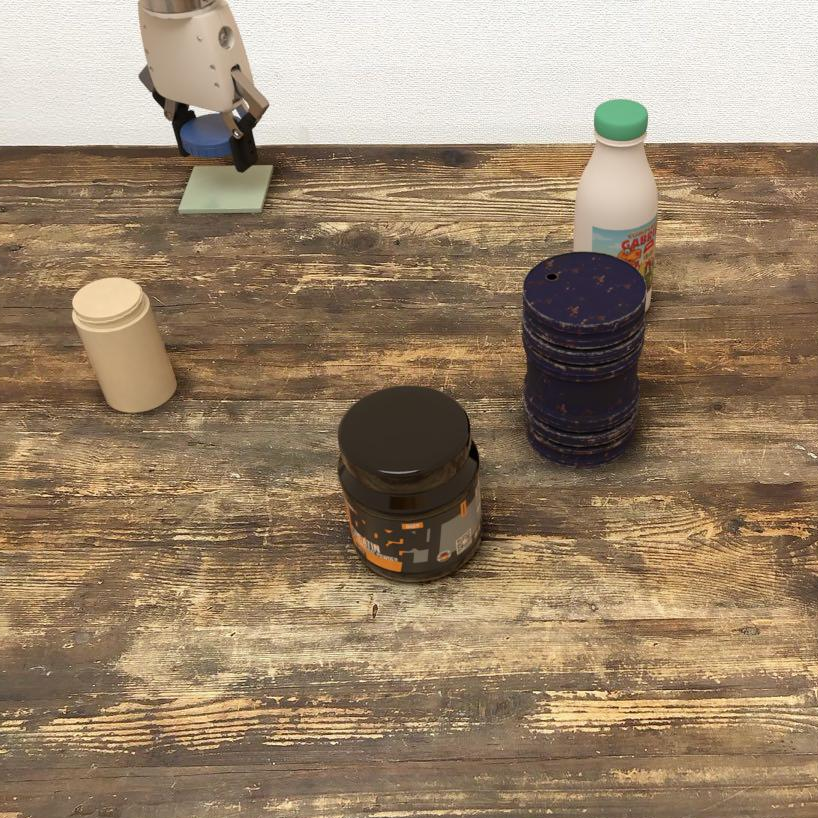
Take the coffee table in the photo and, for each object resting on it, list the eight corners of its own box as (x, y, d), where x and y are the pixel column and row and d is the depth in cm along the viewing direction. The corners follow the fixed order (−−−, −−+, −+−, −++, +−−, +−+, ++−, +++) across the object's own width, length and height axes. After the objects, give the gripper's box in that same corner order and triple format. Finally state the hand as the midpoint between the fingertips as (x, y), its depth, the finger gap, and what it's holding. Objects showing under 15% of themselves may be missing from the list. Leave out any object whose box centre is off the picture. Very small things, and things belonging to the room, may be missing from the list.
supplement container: (328, 528, 86) (302, 417, 77) (437, 471, 90) (424, 360, 81) (398, 610, 81) (379, 502, 72) (510, 546, 85) (506, 436, 76)
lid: (261, 134, 116) (258, 121, 115) (222, 164, 112) (218, 150, 111) (209, 120, 118) (206, 107, 117) (169, 149, 114) (165, 136, 113)
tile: (179, 214, 117) (177, 209, 116) (195, 170, 123) (194, 165, 122) (261, 212, 117) (260, 208, 116) (273, 169, 123) (272, 164, 122)
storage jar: (655, 413, 95) (669, 271, 84) (607, 484, 89) (615, 341, 78) (555, 379, 98) (556, 238, 87) (503, 445, 93) (497, 303, 81)
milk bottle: (560, 317, 104) (562, 122, 89) (588, 274, 109) (594, 82, 94) (635, 336, 102) (650, 139, 87) (660, 291, 107) (678, 97, 92)
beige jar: (119, 422, 95) (81, 329, 87) (95, 383, 98) (56, 290, 91) (187, 395, 97) (156, 302, 89) (161, 358, 101) (130, 265, 93)
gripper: (274, -11, 103) (305, 160, 116) (132, -42, 108) (178, 126, 122) (226, 19, 99) (265, 194, 112) (80, -14, 104) (134, 157, 117)
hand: (219, 157), depth 117 cm, fingers closed on lid, 6 cm apart
